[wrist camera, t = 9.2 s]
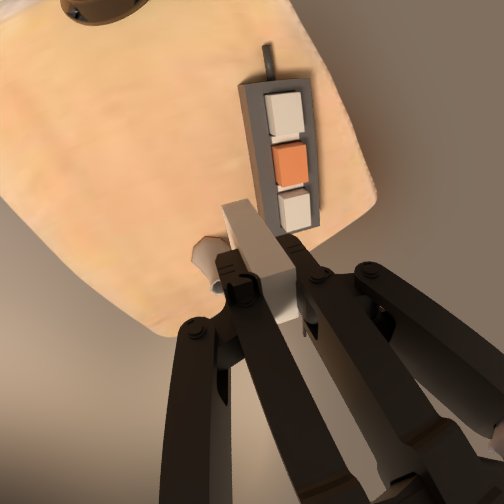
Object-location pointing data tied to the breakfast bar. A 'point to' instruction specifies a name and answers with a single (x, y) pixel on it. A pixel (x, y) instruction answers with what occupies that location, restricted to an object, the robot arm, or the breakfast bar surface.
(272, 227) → the power strip
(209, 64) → the breakfast bar surface
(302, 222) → the switch
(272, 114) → the switch
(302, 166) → the switch
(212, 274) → the flask
